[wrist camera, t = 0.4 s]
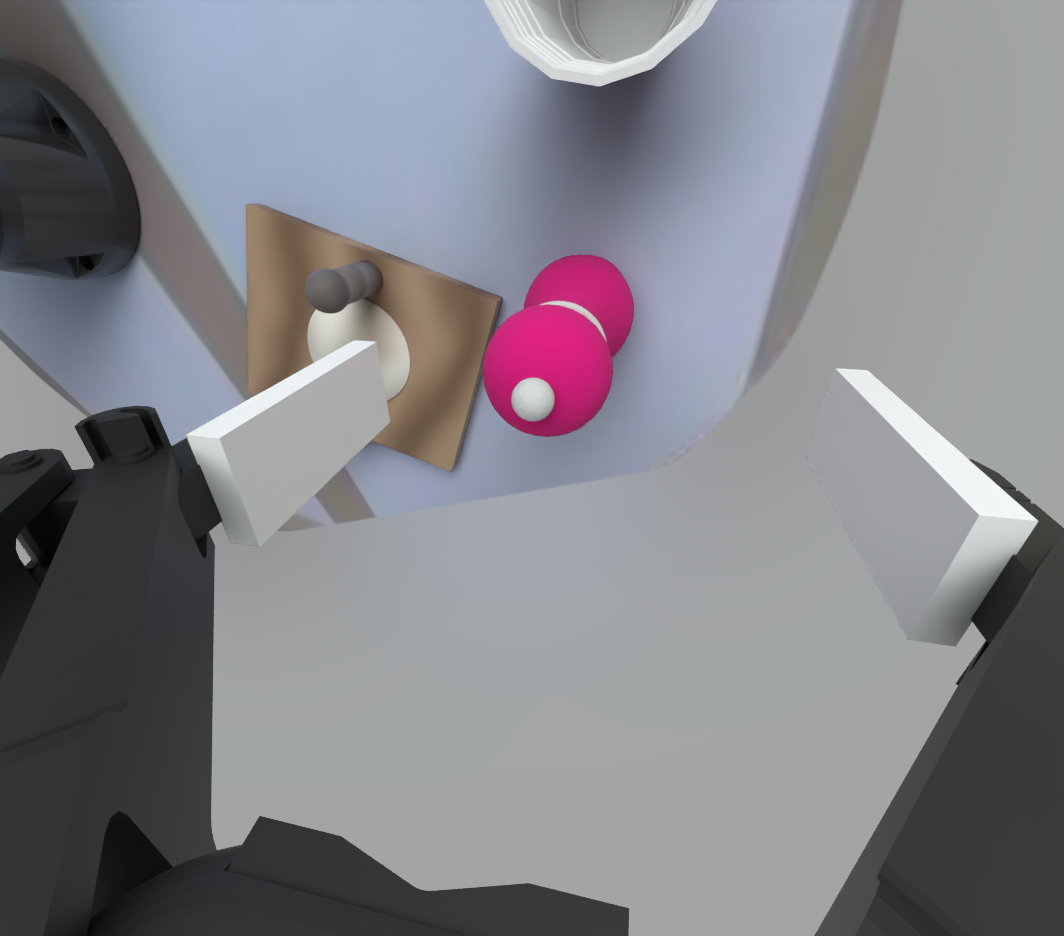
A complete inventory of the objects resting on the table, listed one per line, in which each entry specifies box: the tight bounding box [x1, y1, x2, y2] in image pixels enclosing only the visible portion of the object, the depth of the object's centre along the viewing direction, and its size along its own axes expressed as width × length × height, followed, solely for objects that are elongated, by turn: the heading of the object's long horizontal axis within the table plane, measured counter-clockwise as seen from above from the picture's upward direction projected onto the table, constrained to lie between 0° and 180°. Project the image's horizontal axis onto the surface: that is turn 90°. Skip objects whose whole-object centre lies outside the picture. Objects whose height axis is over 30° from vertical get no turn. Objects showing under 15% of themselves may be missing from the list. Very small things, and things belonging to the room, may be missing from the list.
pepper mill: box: [483, 255, 634, 437], centre depth 28 cm, size 7×7×20 cm
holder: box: [246, 204, 502, 472], centre depth 38 cm, size 20×16×8 cm
